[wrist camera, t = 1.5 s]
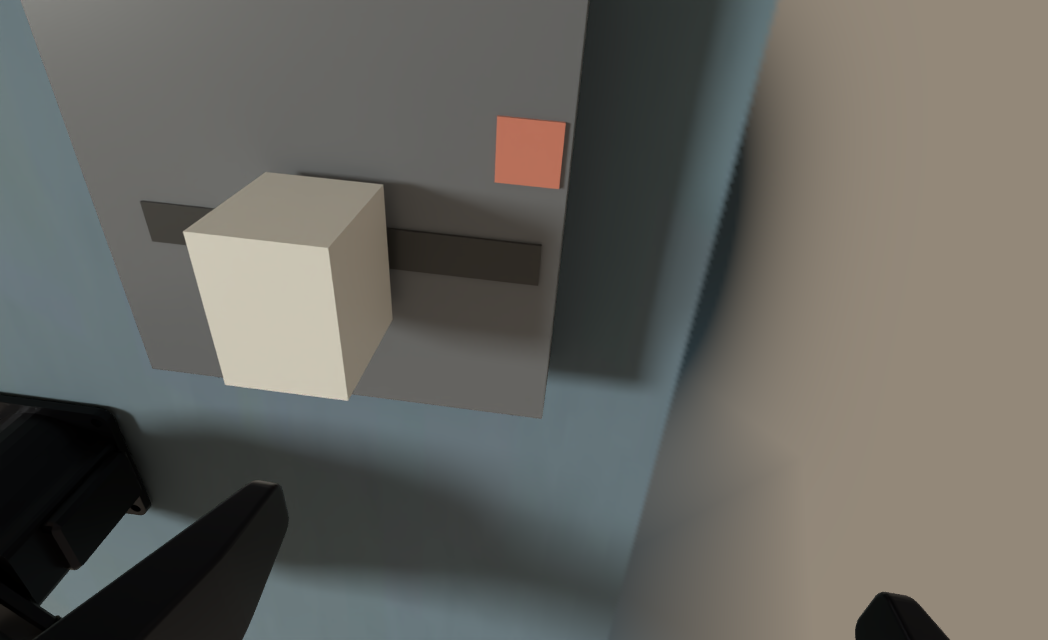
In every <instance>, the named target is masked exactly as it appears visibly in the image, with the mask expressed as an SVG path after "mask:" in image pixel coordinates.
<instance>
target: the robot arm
mask: <svg viewBox="0 0 1048 640" xmlns="http://www.w3.org/2000/svg"><path fill="white" fill-rule="evenodd" d="M150 507H151V502H150V500H149V497H148V495H147V493H146V490H145V488H144V486H143V483H142V481H141V479H140V476H139V474H138V472H137V469H136V467H135V465H134V462H133V460H132V458H131V455H130V453H129V451H128V448H127V446H126V444H125V441H124V439H123V437H122V434H121V432H120V430H119V427H118V425H117V423H116V420H115V418H114V417H113V415H112V414H111V413H110V412H108V411H106V410H104V409H101V408H94V407H87V406H79V405H72V404H64V403H57V402H49V401H42V400H35V399H27V398H20V397H12V396H5V395H0V640H242V639H243V637H244V635H245V633H246V631H247V629H248V627H249V624H250V622H251V619H252V617H253V615H254V612H255V610H256V607H257V605H258V602H259V600H260V597H261V595H262V592H263V589H264V587H265V584H266V582H267V579H268V577H269V574H270V572H271V569H272V567H273V564H274V561H275V559H276V556H277V554H278V551H279V549H280V546H281V544H282V541H283V538H284V536H285V533H286V530H287V527H288V520H289V517H288V511H287V507H286V503H285V498H284V494H283V490H282V487H281V486H280V485H279V484H277V483H272V482H266V481H261V480H255V481H252V482H250V483H248V484H247V485H245V486H244V487H243V488H241V489H240V490H238V491H237V492H236V493H234V494H233V495H232V496H230V497H229V498H227V499H226V500H225V501H223V502H222V503H221V504H219V505H218V506H216V507H215V508H214V509H212V510H211V511H209V512H208V513H207V514H205V515H204V516H203V517H201V518H200V519H198V520H197V521H196V522H194V523H193V524H192V525H190V526H189V527H187V528H186V529H185V530H183V531H182V532H181V533H179V534H178V535H176V536H175V537H174V538H172V539H171V540H169V541H168V542H167V543H165V544H164V545H163V546H161V547H160V548H158V549H157V550H156V551H154V552H153V553H152V554H150V555H149V556H147V557H146V558H145V559H143V560H142V561H140V562H139V563H138V564H136V565H135V566H134V567H132V568H131V569H129V570H128V571H127V572H125V573H124V574H123V575H121V576H120V577H118V578H117V579H116V580H114V581H113V582H111V583H110V584H109V585H107V586H106V587H105V588H103V589H102V590H100V591H99V592H98V593H96V594H95V595H94V596H92V597H91V598H89V599H88V600H87V601H85V602H84V603H83V604H81V605H80V606H78V607H77V608H76V609H74V610H73V611H71V612H70V613H69V614H67V615H66V616H65V617H63V618H62V617H60V616H54V615H52V614H51V613H49V612H48V611H46V610H45V609H43V608H42V607H40V605H41V604H42V602H43V601H44V600H45V599H46V598H47V596H48V595H49V594H50V593H51V592H52V590H53V589H54V588H55V587H56V586H57V585H58V583H59V582H60V581H61V580H62V579H63V577H64V576H65V575H66V574H67V573H68V571H69V570H77V569H79V568H80V567H81V566H82V565H84V563H85V562H86V561H87V560H88V559H89V557H90V556H91V555H92V554H93V553H94V551H95V550H96V549H97V548H98V546H99V545H100V544H101V543H102V542H103V540H104V539H105V538H106V537H107V535H108V534H109V533H110V532H111V531H112V529H113V528H114V527H115V526H116V524H117V523H118V522H119V521H120V520H121V518H122V517H123V516H124V515H125V514H126V513H128V514H135V515H144V514H145V513H146V512H147V511H148V509H149V508H150ZM855 638H856V640H950V639H949V638H948V637H947V636H946V635H945V634H944V632H943V631H942V630H941V629H940V628H939V627H938V625H937V624H936V623H935V622H934V621H933V620H932V619H931V617H930V616H929V615H928V614H927V613H926V612H925V611H924V609H923V608H922V607H921V606H920V605H919V604H918V603H917V602H916V601H915V600H914V599H912V598H911V597H908V596H905V595H900V594H894V593H889V592H881V593H878V594H877V595H876V596H875V598H874V599H873V600H872V601H871V603H870V604H869V605H868V607H867V608H866V609H865V611H864V612H863V613H862V615H861V616H860V617H859V619H858V621H857V624H856V629H855Z"/></svg>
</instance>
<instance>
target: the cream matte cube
mask: <svg viewBox="0 0 1048 640" xmlns="http://www.w3.org/2000/svg"><path fill="white" fill-rule="evenodd" d="M183 234H184V237H185V241H186V245H187V248H188V252H189V255H190V259H191V263H192V266H193V270H194V274H195V277H196V281H197V284H198V288H199V292H200V295H201V299H202V302H203V306H204V310H205V313H206V317H207V320H208V324H209V328H210V331H211V335H212V339H213V342H214V346H215V349H216V353H217V357H218V360H219V364H220V367H221V371H222V375H223V378H224V382H225V385H231V386H239V387H246V388H254V389H262V390H269V391H277V392H285V393H292V394H300V395H308V396H316V397H323V398H331V399H339V400H346V401H348V400H349V398H350V396H351V395H352V393H353V391H354V389H355V387H356V385H357V384H358V382H359V380H360V378H361V376H362V374H363V373H364V371H365V369H366V367H367V365H368V363H369V362H370V360H371V358H372V356H373V354H374V352H375V351H376V349H377V347H378V345H379V343H380V342H381V340H382V338H383V336H384V334H385V332H386V331H387V329H388V327H389V325H390V323H391V321H392V320H393V318H392V303H391V289H390V274H389V260H388V245H387V231H386V216H385V202H384V188H383V184H374V183H364V182H355V181H346V180H336V179H327V178H318V177H308V176H299V175H289V174H280V173H271V172H265V173H264V174H262V175H261V176H259V177H258V178H257V179H255V180H254V181H252V182H251V183H250V184H248V185H247V186H245V187H244V188H243V189H241V190H240V191H238V192H237V193H236V194H234V195H233V196H232V197H230V198H229V199H227V200H226V201H225V202H223V203H222V204H220V205H219V206H218V207H216V208H215V209H213V210H212V211H211V212H209V213H208V214H206V215H205V216H204V217H202V218H201V219H199V220H198V221H197V222H195V223H194V224H193V225H191V226H190V227H188V228H187V229H186V230H184V231H183Z"/></svg>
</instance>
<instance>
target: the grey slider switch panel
mask: <svg viewBox="0 0 1048 640" xmlns="http://www.w3.org/2000/svg"><path fill="white" fill-rule="evenodd" d="M21 3H22V5H23V8H24V11H25V14H26V17H27V19H28V22H29V25H30V28H31V31H32V33H33V36H34V39H35V42H36V45H37V47H38V50H39V53H40V56H41V59H42V61H43V64H44V67H45V70H46V72H47V75H48V78H49V81H50V84H51V86H52V89H53V92H54V95H55V98H56V100H57V103H58V106H59V109H60V112H61V114H62V117H63V120H64V123H65V126H66V128H67V131H68V134H69V137H70V140H71V142H72V145H73V148H74V151H75V154H76V156H77V159H78V162H79V165H80V167H81V170H82V173H83V176H84V179H85V181H86V184H87V187H88V190H89V193H90V195H91V198H92V201H93V204H94V207H95V209H96V212H97V215H98V218H99V221H100V223H101V226H102V229H103V232H104V235H105V237H106V240H107V243H108V246H109V248H110V251H111V254H112V257H113V260H114V262H115V265H116V268H117V271H118V274H119V276H120V279H121V282H122V285H123V288H124V290H125V293H126V296H127V299H128V302H129V304H130V307H131V310H132V313H133V316H134V318H135V321H136V324H137V327H138V330H139V332H140V335H141V338H142V341H143V343H144V346H145V349H146V352H147V355H148V357H149V360H150V363H151V366H152V368H153V369H160V370H168V371H176V372H184V373H191V374H199V375H207V376H215V377H222V378H223V375H222V371H221V367H220V364H219V360H218V357H217V353H216V349H215V346H214V342H213V339H212V335H211V331H210V328H209V324H208V320H207V317H206V313H205V310H204V306H203V302H202V299H201V295H200V292H199V288H198V284H197V281H196V277H195V274H194V270H193V266H192V263H191V259H190V255H189V252H188V248H187V245H186V241H185V237H184V234H183V231H184V230H186V229H187V228H188V227H190V226H191V225H193V224H194V223H195V222H197V221H198V220H199V219H201V218H202V217H204V216H205V215H206V214H208V213H209V212H211V211H212V210H213V209H215V208H216V207H218V206H219V205H220V204H222V203H223V202H225V201H226V200H227V199H229V198H230V197H232V196H233V195H234V194H236V193H237V192H238V191H240V190H241V189H243V188H244V187H245V186H247V185H248V184H250V183H251V182H252V181H254V180H255V179H257V178H258V177H259V176H261V175H262V174H264V173H265V172H271V173H280V174H289V175H299V176H308V177H318V178H327V179H336V180H346V181H355V182H364V183H374V184H383V188H384V202H385V216H386V231H387V245H388V260H389V274H390V289H391V303H392V318H393V320H392V321H391V323H390V325H389V327H388V329H387V331H386V332H385V334H384V336H383V338H382V340H381V342H380V343H379V345H378V347H377V349H376V351H375V352H374V354H373V356H372V358H371V360H370V362H369V363H368V365H367V367H366V369H365V371H364V373H363V374H362V376H361V378H360V380H359V382H358V384H357V385H356V387H355V389H354V391H353V393H352V394H354V395H362V396H369V397H377V398H385V399H393V400H400V401H408V402H416V403H424V404H431V405H439V406H447V407H455V408H462V409H470V410H478V411H486V412H493V413H501V414H509V415H517V416H524V417H532V418H540V419H542V414H543V407H544V399H545V392H546V385H547V377H548V370H549V362H550V353H551V344H552V335H553V326H554V317H555V308H556V300H557V291H558V282H559V273H560V264H561V255H562V246H563V237H564V228H565V219H566V210H567V201H568V192H569V183H570V174H571V165H572V156H573V147H574V139H575V130H576V121H577V112H578V103H579V94H580V85H581V76H582V67H583V58H584V49H585V40H586V31H587V22H588V13H589V4H590V0H21Z"/></svg>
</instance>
